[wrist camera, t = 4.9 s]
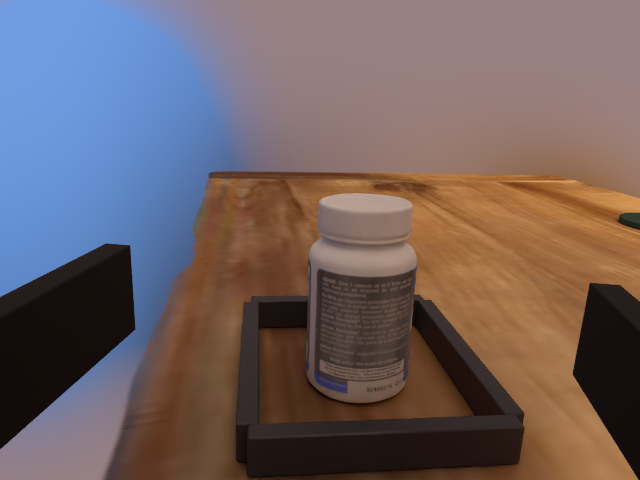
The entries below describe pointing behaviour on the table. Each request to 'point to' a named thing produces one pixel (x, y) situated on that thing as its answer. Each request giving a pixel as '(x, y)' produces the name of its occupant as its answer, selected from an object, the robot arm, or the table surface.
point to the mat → (630, 219)
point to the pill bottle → (360, 297)
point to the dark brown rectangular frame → (375, 435)
